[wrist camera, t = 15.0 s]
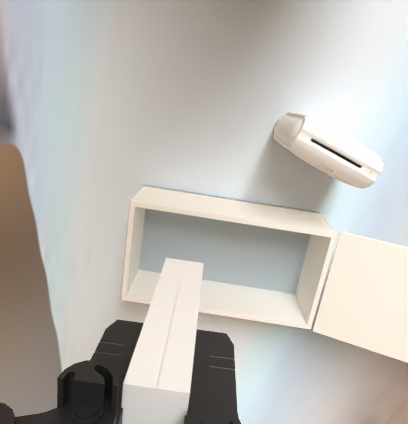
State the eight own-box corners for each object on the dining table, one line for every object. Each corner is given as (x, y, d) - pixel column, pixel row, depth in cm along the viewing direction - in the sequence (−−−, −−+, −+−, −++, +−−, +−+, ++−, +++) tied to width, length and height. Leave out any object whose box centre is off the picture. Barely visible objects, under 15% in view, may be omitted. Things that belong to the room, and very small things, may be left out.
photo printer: (353, 146, 46) (400, 162, 34) (334, 175, 47) (373, 200, 35) (284, 107, 45) (307, 109, 33) (266, 137, 46) (283, 150, 34)
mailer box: (144, 185, 48) (130, 200, 41) (319, 212, 48) (337, 233, 41) (135, 270, 52) (121, 299, 45) (297, 296, 52) (310, 329, 45)
